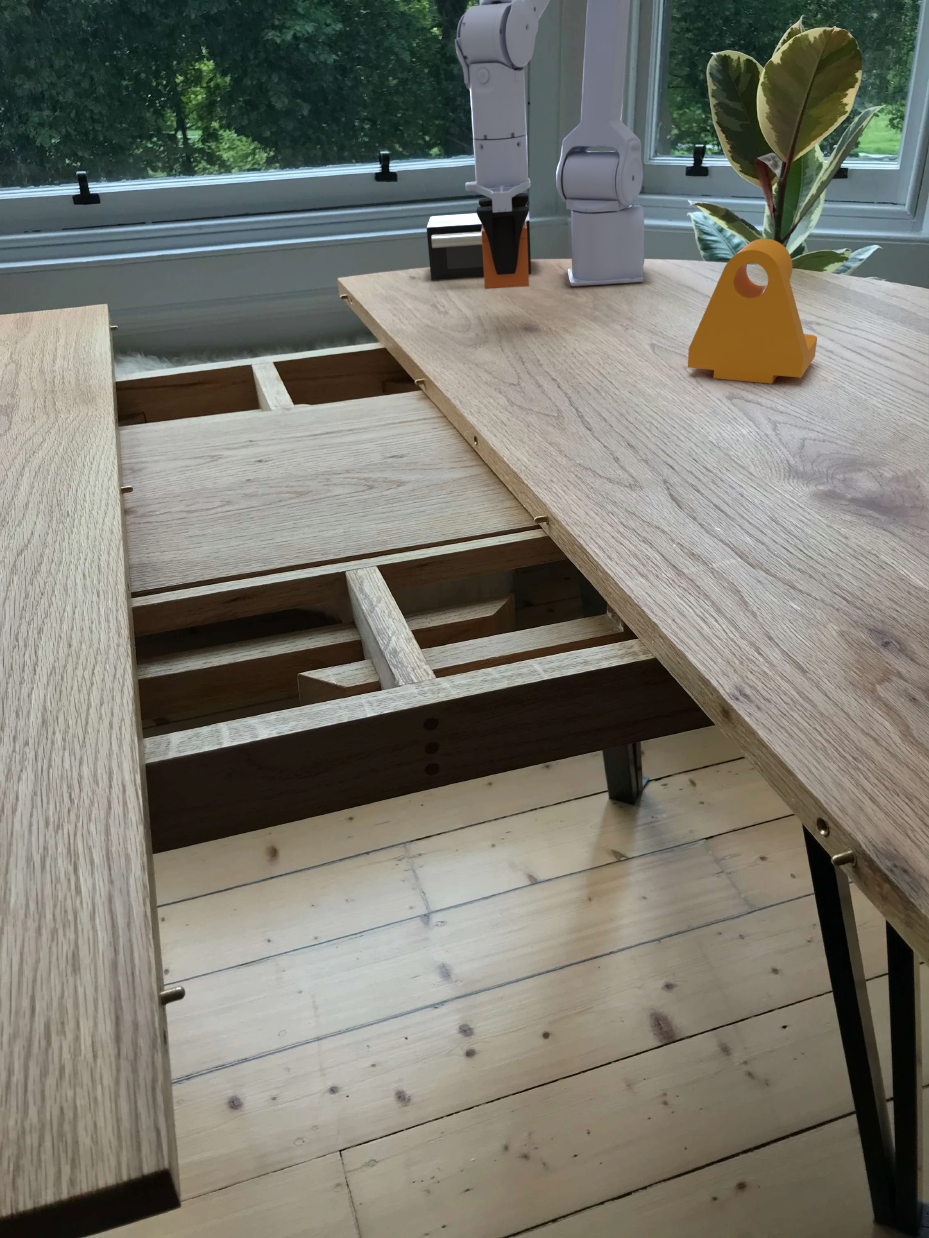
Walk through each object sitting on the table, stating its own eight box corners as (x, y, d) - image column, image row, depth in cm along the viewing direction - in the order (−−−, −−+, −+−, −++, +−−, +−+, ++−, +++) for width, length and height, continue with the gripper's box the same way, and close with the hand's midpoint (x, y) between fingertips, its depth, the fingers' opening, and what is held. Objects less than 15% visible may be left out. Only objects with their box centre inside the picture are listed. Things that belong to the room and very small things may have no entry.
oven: (530, 261, 142) (528, 209, 139) (531, 283, 131) (529, 228, 127) (435, 267, 143) (430, 216, 140) (428, 290, 132) (423, 235, 128)
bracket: (815, 362, 96) (831, 234, 90) (800, 386, 91) (815, 252, 85) (708, 353, 101) (715, 231, 95) (687, 375, 96) (694, 248, 89)
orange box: (528, 277, 114) (526, 220, 110) (529, 286, 110) (526, 228, 107) (485, 279, 114) (482, 223, 111) (484, 289, 110) (481, 231, 107)
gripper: (465, 131, 110) (473, 256, 118) (459, 148, 98) (468, 286, 105) (527, 126, 110) (532, 252, 117) (529, 143, 98) (534, 282, 105)
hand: (506, 268), depth 111 cm, fingers closed on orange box, 4 cm apart
